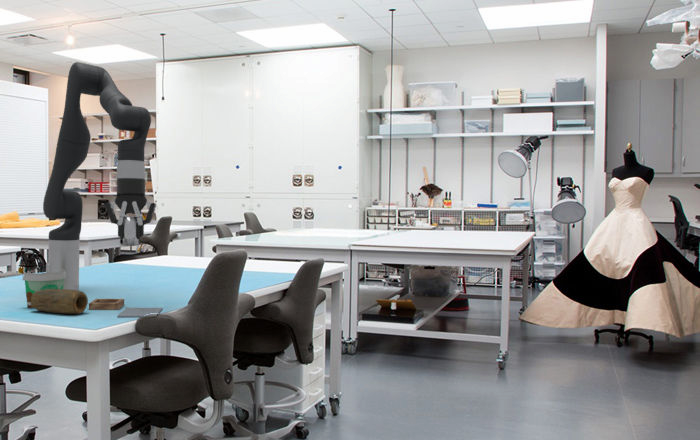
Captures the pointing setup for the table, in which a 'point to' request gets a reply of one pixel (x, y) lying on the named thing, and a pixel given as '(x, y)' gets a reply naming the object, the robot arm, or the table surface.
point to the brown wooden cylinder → (59, 301)
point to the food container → (42, 282)
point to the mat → (138, 312)
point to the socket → (106, 304)
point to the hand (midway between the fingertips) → (131, 238)
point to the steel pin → (130, 231)
